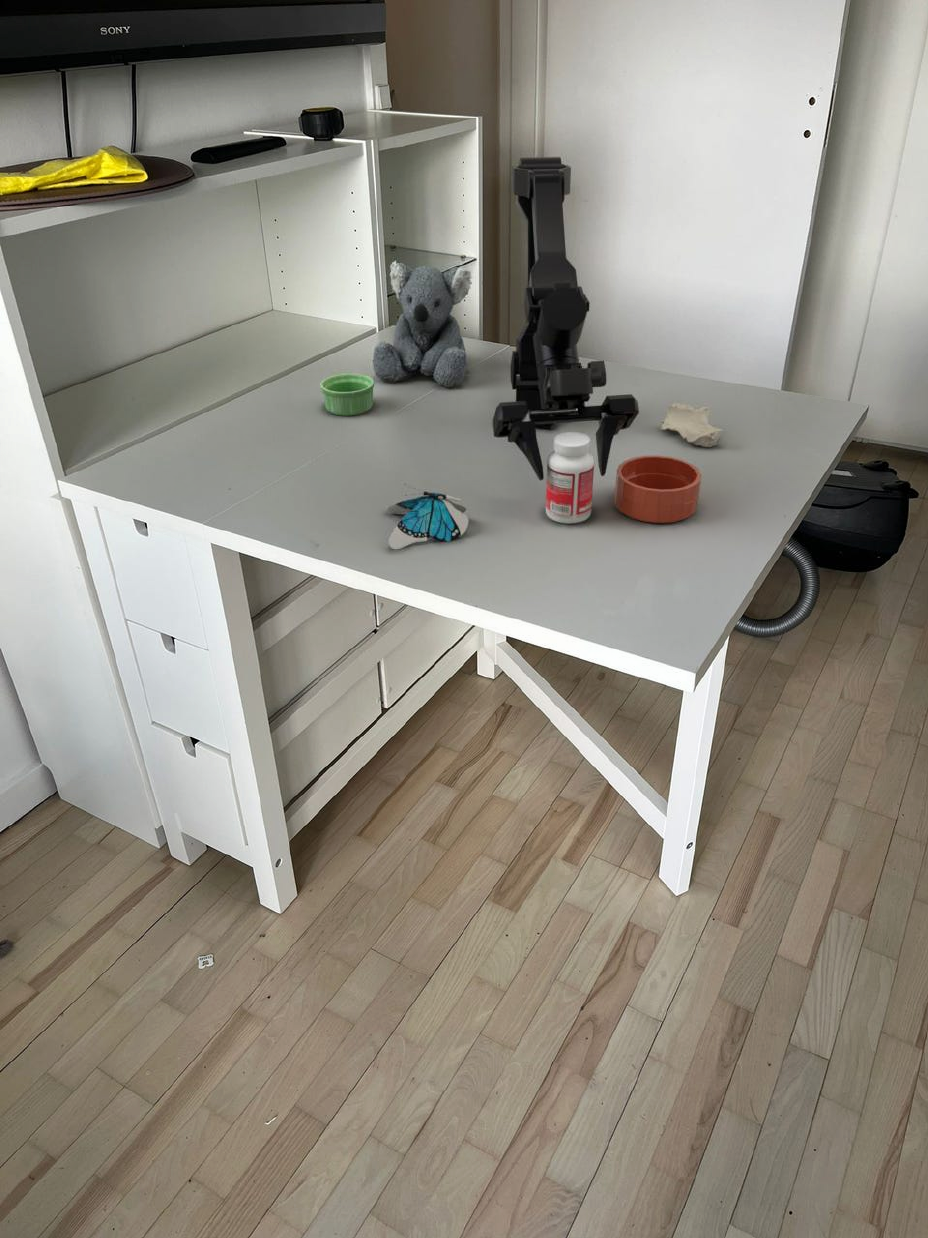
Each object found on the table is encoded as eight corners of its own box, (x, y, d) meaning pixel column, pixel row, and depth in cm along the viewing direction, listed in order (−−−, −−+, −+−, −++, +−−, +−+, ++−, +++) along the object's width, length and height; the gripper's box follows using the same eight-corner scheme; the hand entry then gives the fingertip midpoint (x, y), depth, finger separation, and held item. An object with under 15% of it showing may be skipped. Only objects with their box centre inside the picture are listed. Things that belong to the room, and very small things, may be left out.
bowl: (607, 518, 129) (610, 485, 126) (621, 483, 138) (624, 451, 135) (691, 529, 126) (696, 495, 124) (700, 493, 135) (705, 460, 132)
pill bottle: (584, 502, 133) (589, 427, 127) (595, 523, 128) (601, 446, 122) (541, 505, 133) (543, 430, 126) (550, 526, 128) (553, 449, 121)
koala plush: (368, 383, 173) (361, 272, 162) (397, 351, 187) (391, 247, 176) (462, 390, 169) (461, 277, 158) (483, 357, 184) (483, 251, 173)
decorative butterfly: (475, 517, 121) (397, 503, 119) (463, 561, 125) (387, 548, 123) (468, 482, 130) (395, 469, 128) (457, 524, 133) (386, 511, 131)
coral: (709, 452, 146) (713, 425, 144) (653, 433, 153) (655, 407, 150) (729, 441, 150) (733, 414, 147) (673, 423, 156) (676, 397, 153)
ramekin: (313, 413, 161) (310, 388, 159) (338, 395, 168) (336, 370, 166) (360, 420, 159) (358, 395, 156) (384, 401, 165) (383, 376, 163)
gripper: (496, 341, 120) (510, 460, 117) (641, 333, 122) (659, 449, 119) (486, 380, 130) (499, 489, 128) (620, 372, 132) (635, 480, 130)
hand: (572, 477), depth 126 cm, fingers open, 8 cm apart
